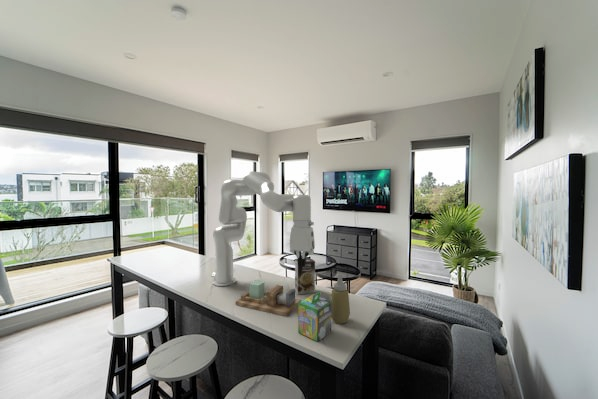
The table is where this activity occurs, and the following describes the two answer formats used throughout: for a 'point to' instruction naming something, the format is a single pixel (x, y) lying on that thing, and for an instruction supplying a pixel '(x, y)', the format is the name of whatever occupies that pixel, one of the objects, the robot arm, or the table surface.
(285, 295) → the grey rectangular box
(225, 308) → the table surface
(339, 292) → the squeeze bottle
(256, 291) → the spacer block
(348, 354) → the table surface
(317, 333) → the chalk box
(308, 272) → the coffee box
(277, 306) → the jig
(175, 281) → the table surface
